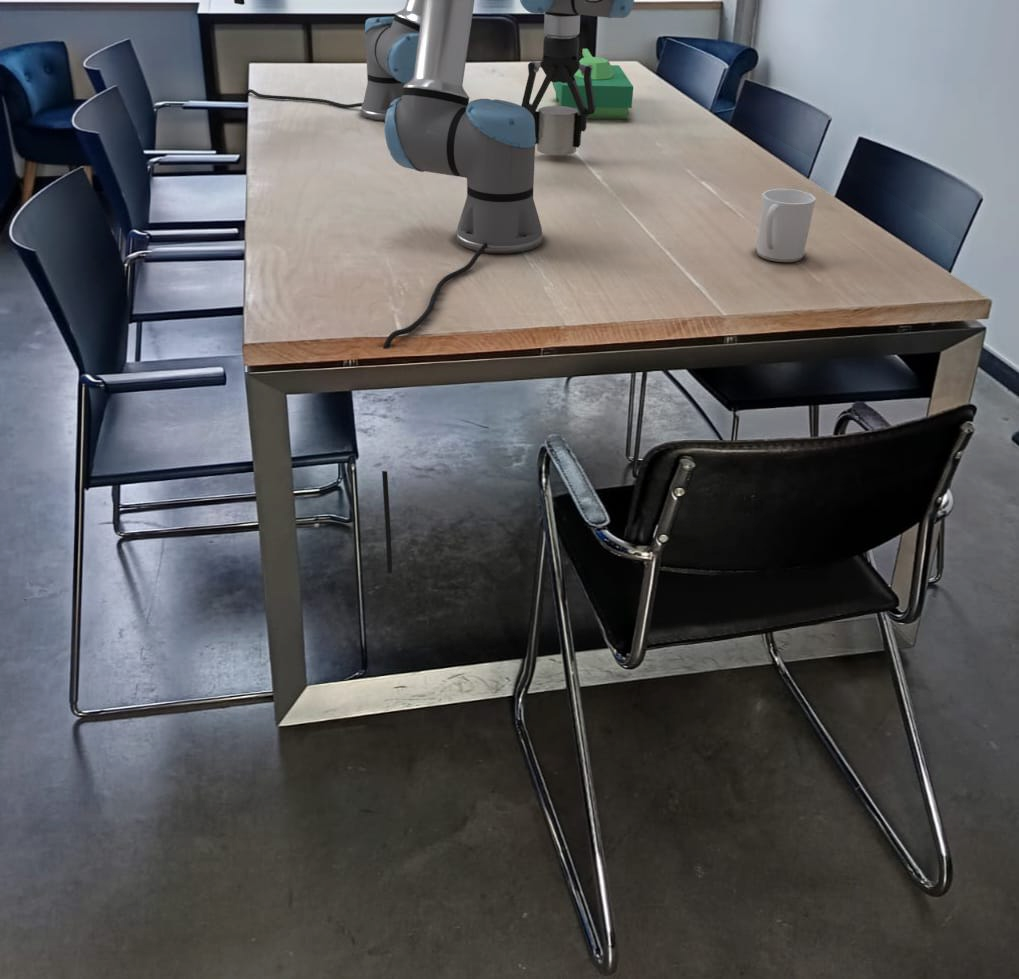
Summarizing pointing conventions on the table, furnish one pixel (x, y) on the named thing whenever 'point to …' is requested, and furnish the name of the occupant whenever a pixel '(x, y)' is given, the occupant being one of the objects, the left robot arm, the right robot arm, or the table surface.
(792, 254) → the mug
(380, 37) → the left robot arm
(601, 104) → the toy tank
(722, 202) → the table surface
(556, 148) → the tin
